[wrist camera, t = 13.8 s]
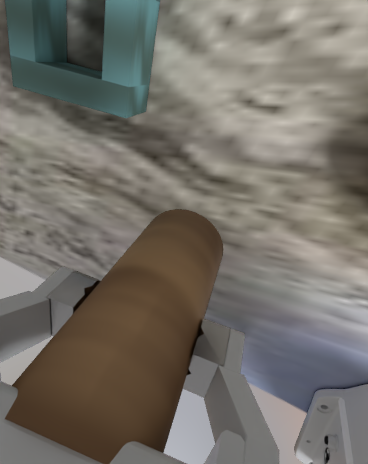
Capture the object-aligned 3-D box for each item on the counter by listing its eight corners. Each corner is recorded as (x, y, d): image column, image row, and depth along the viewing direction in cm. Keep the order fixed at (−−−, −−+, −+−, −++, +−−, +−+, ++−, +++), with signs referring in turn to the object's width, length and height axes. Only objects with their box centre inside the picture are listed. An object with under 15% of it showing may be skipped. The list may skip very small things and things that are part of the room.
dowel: (211, 289, 16) (132, 548, 7) (141, 264, 16) (-11, 478, 8) (233, 223, 14) (157, 479, 5) (151, 198, 14) (-42, 390, 6)
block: (145, 111, 26) (126, 118, 23) (45, 83, 27) (13, 86, 24) (164, -37, 21) (142, -56, 18) (39, -63, 22) (-3, -86, 19)
